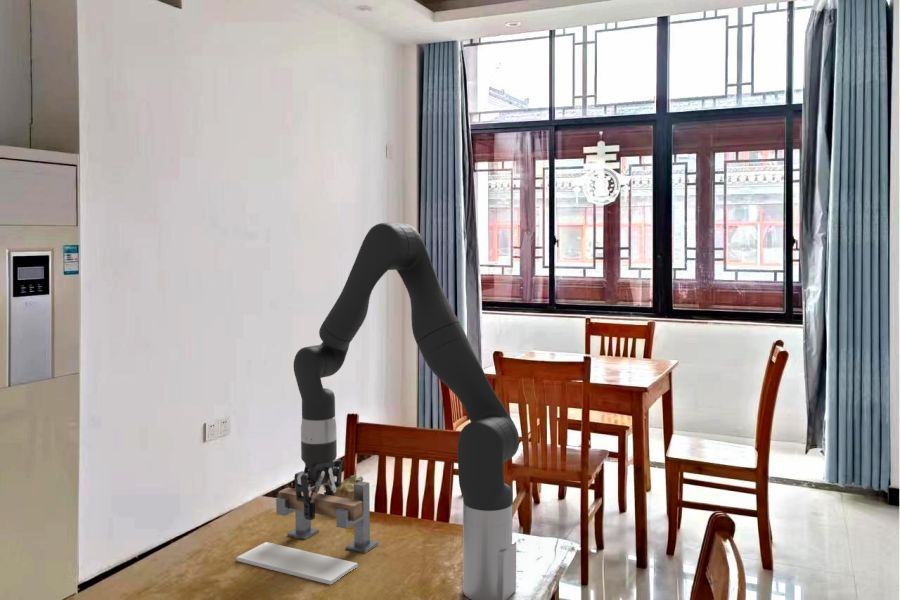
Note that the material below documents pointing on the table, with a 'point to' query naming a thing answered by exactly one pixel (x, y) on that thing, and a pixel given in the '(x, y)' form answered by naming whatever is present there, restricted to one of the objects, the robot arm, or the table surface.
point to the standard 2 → (358, 520)
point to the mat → (298, 562)
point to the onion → (347, 487)
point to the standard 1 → (302, 524)
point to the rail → (325, 504)
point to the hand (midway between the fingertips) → (319, 513)
